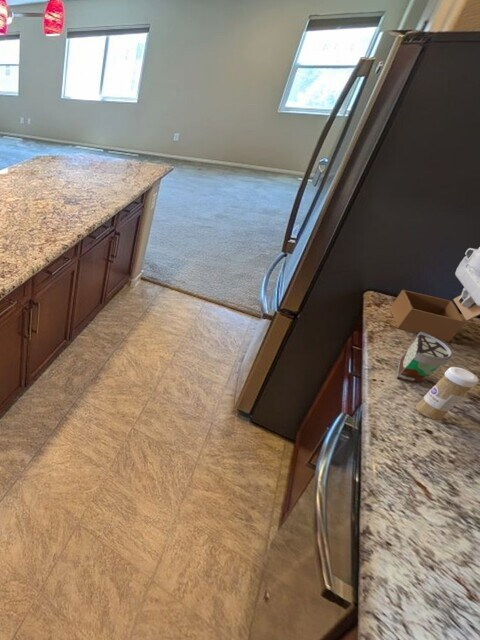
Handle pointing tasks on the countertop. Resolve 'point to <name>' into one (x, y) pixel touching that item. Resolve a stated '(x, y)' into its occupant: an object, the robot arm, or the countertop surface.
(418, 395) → the countertop surface
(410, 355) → the food container
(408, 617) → the countertop surface
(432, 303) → the carton
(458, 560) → the countertop surface
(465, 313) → the flap
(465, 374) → the sprinkles bottle
